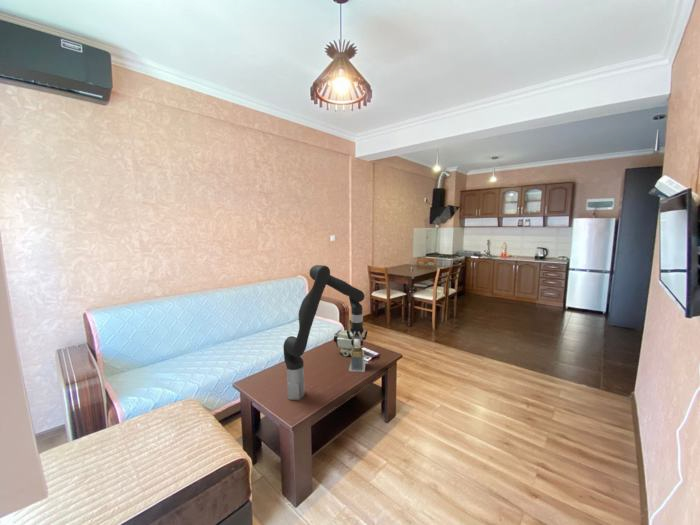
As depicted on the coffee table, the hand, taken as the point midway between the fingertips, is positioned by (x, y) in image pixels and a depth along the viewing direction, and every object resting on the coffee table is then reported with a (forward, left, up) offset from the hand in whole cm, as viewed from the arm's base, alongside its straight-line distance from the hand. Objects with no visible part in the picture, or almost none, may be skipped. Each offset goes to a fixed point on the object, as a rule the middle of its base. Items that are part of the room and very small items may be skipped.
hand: (357, 345), depth 191 cm
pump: (0, 0, -1) cm, 1 cm away
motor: (0, 0, -15) cm, 15 cm away
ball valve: (+17, +9, -15) cm, 25 cm away
